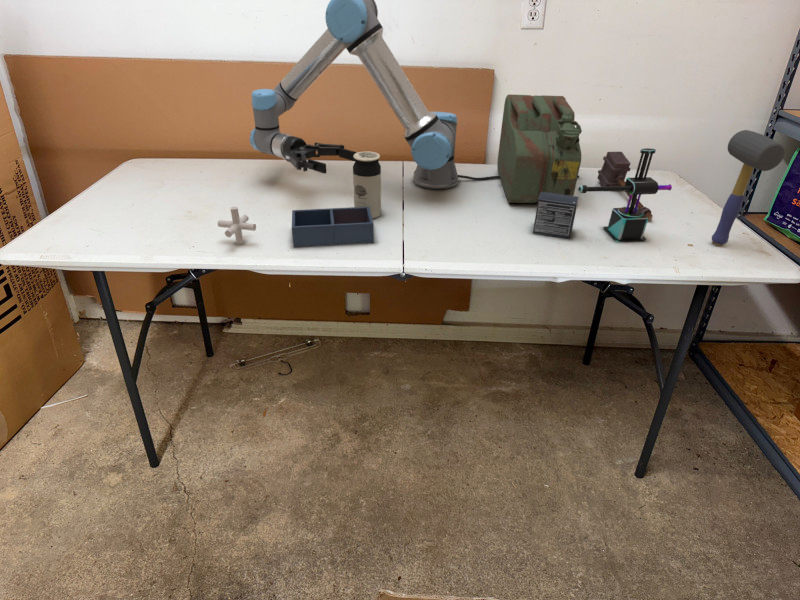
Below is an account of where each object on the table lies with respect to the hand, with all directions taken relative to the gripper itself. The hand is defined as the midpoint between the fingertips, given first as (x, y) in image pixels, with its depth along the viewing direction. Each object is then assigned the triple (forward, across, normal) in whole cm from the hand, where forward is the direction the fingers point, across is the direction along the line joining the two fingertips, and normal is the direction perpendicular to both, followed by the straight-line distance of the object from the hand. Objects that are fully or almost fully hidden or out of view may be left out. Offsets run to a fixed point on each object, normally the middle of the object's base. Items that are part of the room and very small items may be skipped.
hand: (341, 162), depth 154 cm
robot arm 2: (+72, -31, -13) cm, 80 cm away
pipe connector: (-6, +35, -14) cm, 38 cm away
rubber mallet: (+98, -45, -13) cm, 109 cm away
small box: (+59, -23, -14) cm, 65 cm away
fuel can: (+40, -51, -14) cm, 66 cm away
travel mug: (+10, 0, -14) cm, 17 cm away
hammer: (+68, -60, -13) cm, 92 cm away
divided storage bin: (+11, +17, -14) cm, 25 cm away
